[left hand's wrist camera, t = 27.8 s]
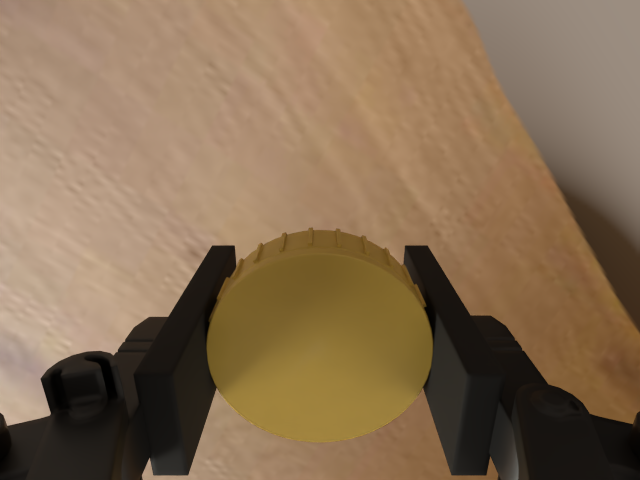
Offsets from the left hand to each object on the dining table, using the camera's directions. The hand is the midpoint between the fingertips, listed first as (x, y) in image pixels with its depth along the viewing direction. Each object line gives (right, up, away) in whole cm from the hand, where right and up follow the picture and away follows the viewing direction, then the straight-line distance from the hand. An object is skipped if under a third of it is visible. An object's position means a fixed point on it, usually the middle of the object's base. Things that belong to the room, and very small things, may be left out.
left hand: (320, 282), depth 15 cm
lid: (0, -1, -4) cm, 4 cm away
